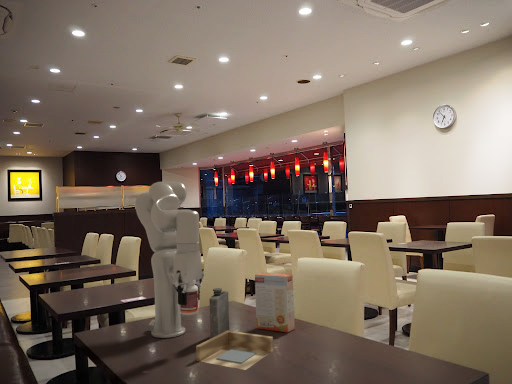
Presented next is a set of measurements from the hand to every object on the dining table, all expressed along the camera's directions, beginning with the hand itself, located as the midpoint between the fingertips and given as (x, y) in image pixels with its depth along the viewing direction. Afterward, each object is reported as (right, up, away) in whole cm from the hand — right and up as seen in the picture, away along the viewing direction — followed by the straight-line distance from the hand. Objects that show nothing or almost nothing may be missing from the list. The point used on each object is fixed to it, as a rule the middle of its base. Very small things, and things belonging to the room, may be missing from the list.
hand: (189, 301), depth 140 cm
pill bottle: (0, -4, 0) cm, 4 cm away
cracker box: (+30, -16, +22) cm, 40 cm away
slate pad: (+16, -15, -9) cm, 24 cm away
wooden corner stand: (+16, -16, -8) cm, 24 cm away
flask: (+9, -17, +11) cm, 22 cm away
